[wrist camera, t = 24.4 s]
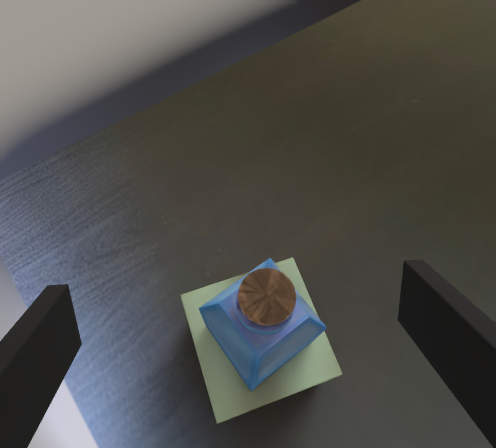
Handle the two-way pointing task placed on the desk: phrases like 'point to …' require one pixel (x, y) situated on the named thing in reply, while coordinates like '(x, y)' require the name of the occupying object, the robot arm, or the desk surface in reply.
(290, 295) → the perfume bottle
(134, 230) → the desk surface
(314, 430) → the desk surface
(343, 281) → the desk surface
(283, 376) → the pale green square pedestal
